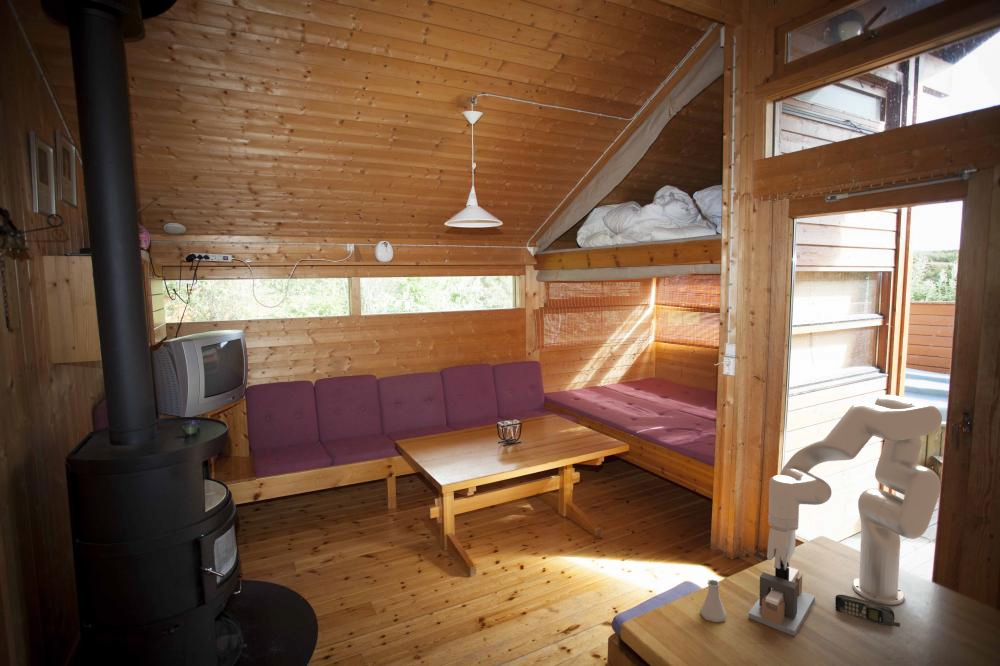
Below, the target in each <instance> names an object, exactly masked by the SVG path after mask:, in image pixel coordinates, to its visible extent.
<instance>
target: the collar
mask: <svg viewBox="0 0 1000 666" xmlns="http://www.w3.org/2000/svg"><path fill="white" fill-rule="evenodd" d="M771 588H773V589H776V590H778V591H781V592H784V593H786V599H785V613H784V615H785V616H787V617H790V618H793V619H794V618H795V616H796V614H797V592H798V584H797V583H794V582H791V581H788V580H785V579H782V578H779V577H776V576H775V575H773V574H770V573H768V572H765V571H763V572H762V573H761V575H760V576H759V598H760V601H759V606H761V607H762V599H763V598H764V596H765V595H768V594H769V593H770V591H771Z"/></svg>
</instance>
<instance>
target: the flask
mask: <svg viewBox="0 0 1000 666" xmlns="http://www.w3.org/2000/svg"><path fill="white" fill-rule="evenodd" d="M707 585H708V590H707V594H706V597H705V599H704V602H703V604H702V606H701V609H700V612H699V613H700V615H701V617H703V619H704V620H706V621H709V622H713V623H723V622H726V620H727V615H728V614H727V612H726V609H725V607H724V605H723V602H722V600H721V596H720V591H719V587H720V582H719V581H718V580H715V579H708V580H707Z"/></svg>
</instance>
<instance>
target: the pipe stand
mask: <svg viewBox="0 0 1000 666" xmlns="http://www.w3.org/2000/svg"><path fill="white" fill-rule="evenodd" d="M787 568H789V581H791V582H794V583H797V584H798V592H797V614H796V616H795V618H794V619H793V618H790V617H787V616H785V615H784V613H785V599H786V593H784V592H781V591H778V590H776V589H773V588H771V591H770V593H769V594H768V595H765V596H764V598H763V599H762V607H761V606H759V601H760V597H759V598H757V600H756V602H754V604H753V606H752V607H751V609H750V610H749V611H748V618H749V619H750V620H753V621H755V622H758V623H761V624H762V625H763V624H764V625H766V626H768V627H770V628H773V629H775V630H778V631H781V632H783V633H786V634H789V636H793V637H796V635H797V633H798V632H799V630H800V629H801V626H802V625H803V623H804V620H806V618H807V616H808V613H809V612H810V610H811V609H812V607H813V605H814V603H815V601H816V596H815V595H813V594H810V593H808V592H805V591H803V574H802V573H800V571H799V569H797V568H794V567H791V566H789V567H787Z"/></svg>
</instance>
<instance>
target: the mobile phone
mask: <svg viewBox="0 0 1000 666" xmlns="http://www.w3.org/2000/svg"><path fill="white" fill-rule="evenodd" d="M834 602H835V606H834V607H835V611H836V612H839V613H843V614H844V615H845V614H846V615H848V616H853V617H856V618H860V619H862V620H865V621H869V622H872V623H874V624H879V625H889V626H890V625H891V626H892V625H896V626H901V623H900V622H897V621H895V612H894V610H893V609H892V608H891V607H888V606H885V605H884V604H881V603H877V602H874V601H871V600H869V601H868V600H865V599H863V598H857V597H855V596H849V595H847V594H837V595H835V601H834Z"/></svg>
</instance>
